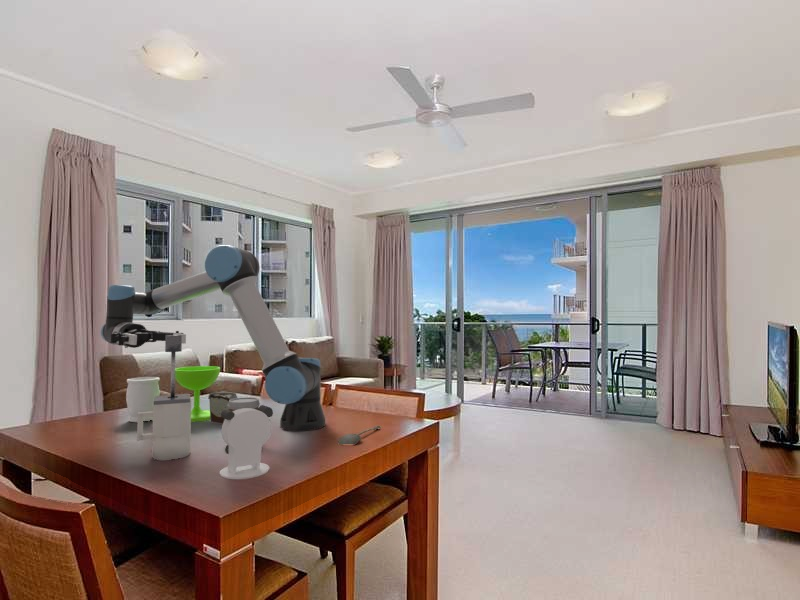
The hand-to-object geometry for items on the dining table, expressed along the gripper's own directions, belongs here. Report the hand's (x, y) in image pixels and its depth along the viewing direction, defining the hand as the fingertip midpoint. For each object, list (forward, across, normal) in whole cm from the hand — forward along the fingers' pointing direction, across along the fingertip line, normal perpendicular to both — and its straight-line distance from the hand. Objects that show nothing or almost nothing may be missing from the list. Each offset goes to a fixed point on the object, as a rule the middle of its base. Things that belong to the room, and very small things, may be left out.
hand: (161, 339), depth 132 cm
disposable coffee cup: (+11, -21, -30) cm, 38 cm away
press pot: (+9, +2, -30) cm, 32 cm away
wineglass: (-30, -28, -32) cm, 52 cm away
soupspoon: (+36, -46, -30) cm, 66 cm away
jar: (-40, -13, -32) cm, 53 cm away
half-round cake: (-15, -30, -31) cm, 46 cm away
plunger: (+10, 0, -15) cm, 18 cm away
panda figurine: (+37, -6, -30) cm, 48 cm away
